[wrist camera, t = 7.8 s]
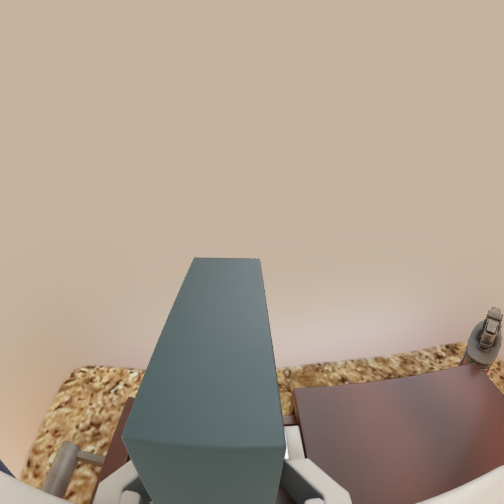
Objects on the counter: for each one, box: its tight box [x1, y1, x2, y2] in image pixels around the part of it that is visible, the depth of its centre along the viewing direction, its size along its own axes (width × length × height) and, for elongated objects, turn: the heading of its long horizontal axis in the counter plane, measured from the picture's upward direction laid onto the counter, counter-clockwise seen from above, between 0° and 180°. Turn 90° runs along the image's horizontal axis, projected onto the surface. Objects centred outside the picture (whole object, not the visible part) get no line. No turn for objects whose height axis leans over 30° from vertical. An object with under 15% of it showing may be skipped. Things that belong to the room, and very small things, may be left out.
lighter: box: [458, 307, 503, 374], centre depth 21 cm, size 8×3×10 cm, turn 131°
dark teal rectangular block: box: [121, 258, 287, 504], centre depth 10 cm, size 2×8×15 cm, turn 1°
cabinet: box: [289, 363, 504, 504], centre depth 12 cm, size 15×15×8 cm
